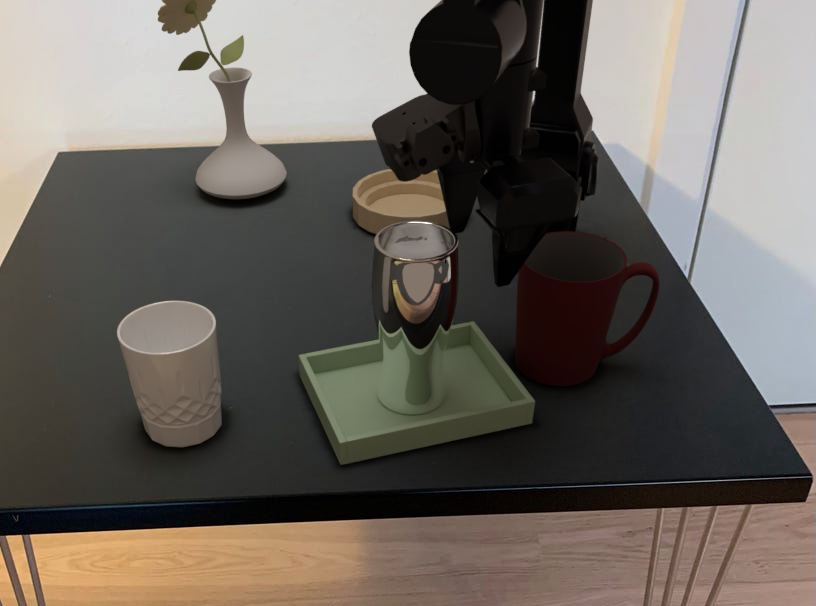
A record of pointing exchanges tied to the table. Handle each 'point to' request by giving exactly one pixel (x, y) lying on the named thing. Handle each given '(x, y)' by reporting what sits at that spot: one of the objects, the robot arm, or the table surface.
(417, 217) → the round tan dish
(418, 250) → the polished metal tumbler
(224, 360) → the table surface
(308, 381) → the tray
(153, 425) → the white cup
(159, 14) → the flower in vase
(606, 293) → the mug
